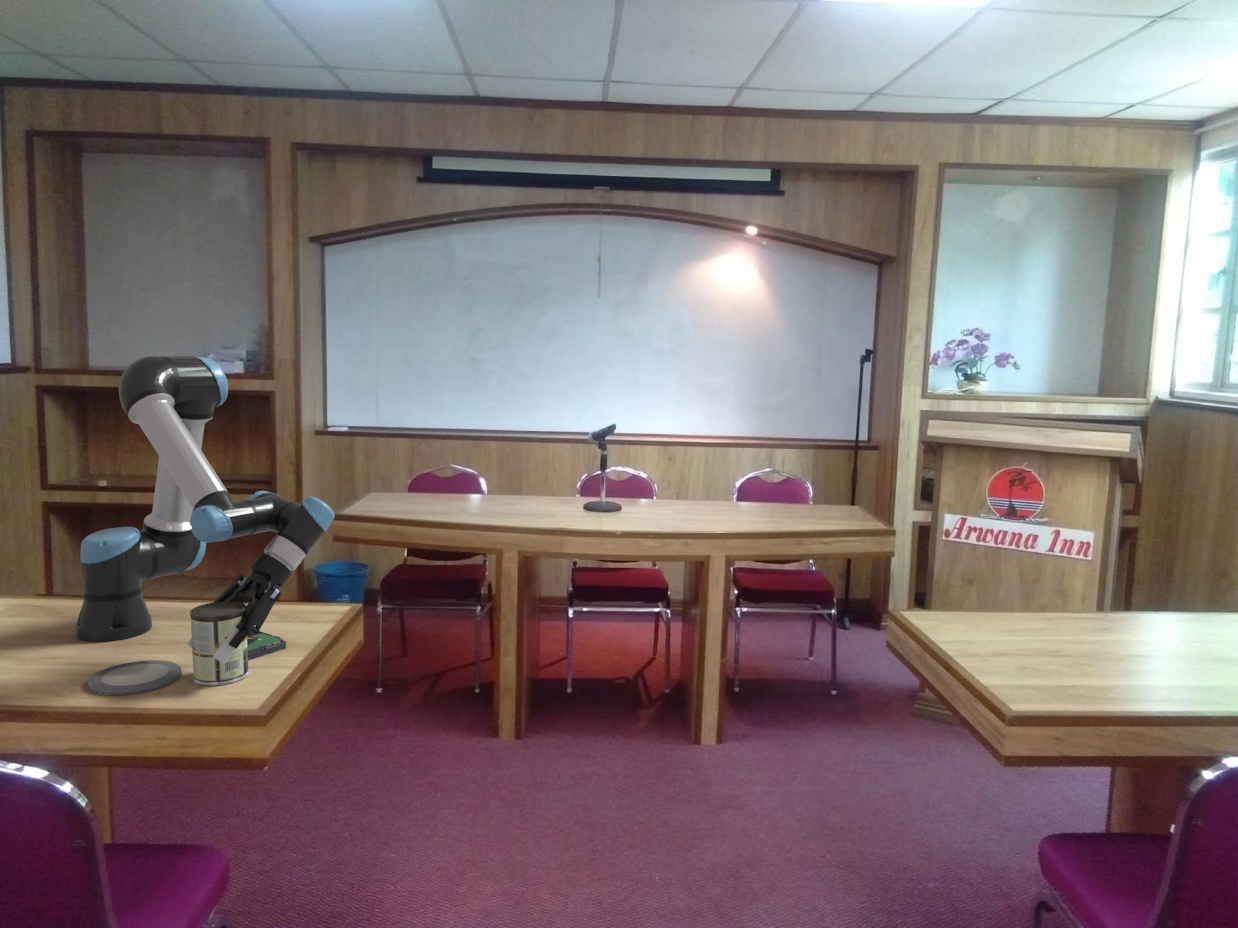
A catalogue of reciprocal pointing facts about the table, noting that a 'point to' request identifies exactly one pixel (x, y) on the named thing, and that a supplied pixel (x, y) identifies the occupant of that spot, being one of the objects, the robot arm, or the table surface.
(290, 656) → the table surface
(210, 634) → the coffee can
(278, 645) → the disk drive
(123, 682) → the grey flat disc
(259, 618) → the robot arm
